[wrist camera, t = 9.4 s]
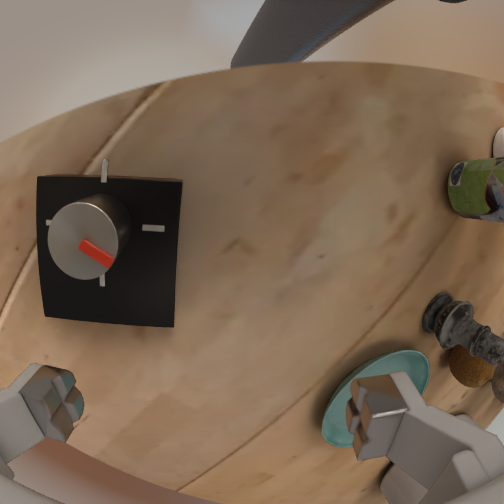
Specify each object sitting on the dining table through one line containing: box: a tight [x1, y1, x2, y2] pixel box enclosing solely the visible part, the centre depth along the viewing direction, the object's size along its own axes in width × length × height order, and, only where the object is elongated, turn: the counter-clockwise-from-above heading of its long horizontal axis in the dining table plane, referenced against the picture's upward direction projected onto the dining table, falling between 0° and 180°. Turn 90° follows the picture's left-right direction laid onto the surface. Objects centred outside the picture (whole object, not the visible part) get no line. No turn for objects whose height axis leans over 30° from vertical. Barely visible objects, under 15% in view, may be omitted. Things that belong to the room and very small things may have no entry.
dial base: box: [36, 160, 183, 327], centre depth 20 cm, size 11×10×3 cm
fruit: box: [449, 344, 496, 388], centre depth 30 cm, size 6×6×8 cm
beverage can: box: [448, 157, 504, 222], centre depth 21 cm, size 6×7×12 cm
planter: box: [380, 414, 482, 504], centre depth 33 cm, size 22×22×20 cm
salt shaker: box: [422, 292, 504, 366], centre depth 25 cm, size 6×6×12 cm
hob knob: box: [48, 194, 132, 280], centre depth 16 cm, size 4×4×5 cm
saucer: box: [322, 350, 430, 447], centre depth 30 cm, size 15×15×3 cm
